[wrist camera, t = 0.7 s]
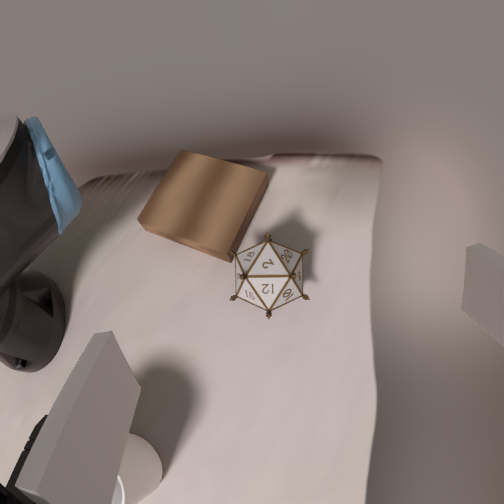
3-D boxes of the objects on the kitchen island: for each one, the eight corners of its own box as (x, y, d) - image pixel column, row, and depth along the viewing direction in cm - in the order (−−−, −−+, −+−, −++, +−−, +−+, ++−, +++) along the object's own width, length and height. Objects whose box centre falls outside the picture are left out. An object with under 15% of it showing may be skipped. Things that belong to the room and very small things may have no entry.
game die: (264, 281, 42) (261, 209, 37) (322, 304, 37) (327, 226, 32) (216, 318, 36) (204, 238, 31) (277, 350, 31) (276, 265, 26)
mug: (97, 402, 33) (43, 401, 23) (176, 457, 30) (139, 480, 20) (73, 450, 30) (20, 459, 21) (147, 506, 27) (106, 536, 18)
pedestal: (145, 229, 42) (137, 219, 39) (186, 162, 46) (181, 149, 43) (231, 263, 39) (227, 253, 36) (268, 185, 43) (267, 172, 40)
